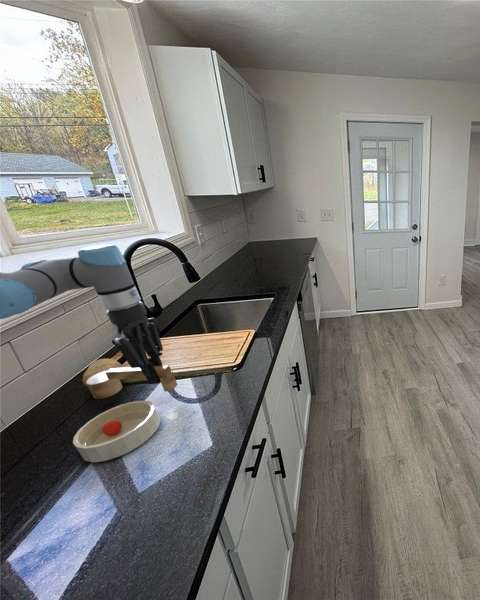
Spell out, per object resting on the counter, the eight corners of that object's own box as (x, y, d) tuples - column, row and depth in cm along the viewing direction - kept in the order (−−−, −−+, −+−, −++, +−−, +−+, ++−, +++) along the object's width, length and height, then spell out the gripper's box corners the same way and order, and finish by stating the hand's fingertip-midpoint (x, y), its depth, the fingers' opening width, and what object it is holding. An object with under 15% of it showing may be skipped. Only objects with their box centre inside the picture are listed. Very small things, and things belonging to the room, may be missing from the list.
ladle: (86, 399, 87) (76, 378, 84) (105, 385, 93) (95, 364, 90) (168, 395, 88) (160, 374, 85) (181, 381, 94) (173, 360, 91)
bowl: (64, 467, 72) (53, 451, 70) (116, 418, 86) (108, 403, 84) (133, 460, 73) (124, 444, 71) (173, 412, 87) (167, 397, 85)
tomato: (102, 435, 79) (96, 431, 77) (112, 421, 82) (107, 416, 79) (117, 438, 80) (112, 434, 77) (127, 424, 82) (122, 420, 80)
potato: (88, 404, 93) (75, 382, 90) (90, 383, 103) (79, 362, 100) (129, 388, 99) (118, 367, 95) (128, 370, 109) (118, 350, 106)
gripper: (116, 316, 74) (154, 396, 83) (157, 293, 88) (186, 363, 97) (84, 319, 74) (125, 399, 83) (130, 295, 87) (161, 366, 97)
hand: (158, 379), depth 90 cm, fingers closed on ladle, 2 cm apart
